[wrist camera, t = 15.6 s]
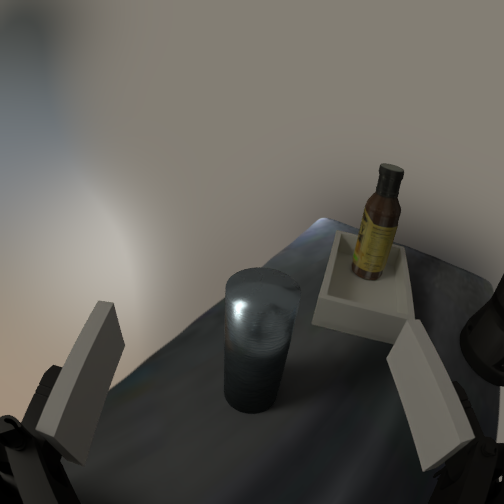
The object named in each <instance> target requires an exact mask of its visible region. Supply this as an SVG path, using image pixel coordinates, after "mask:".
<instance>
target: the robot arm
mask: <svg viewBox="0 0 504 504" xmlns="http://www.w3.org/2000/svg"><path fill="white" fill-rule="evenodd" d="M460 346H461V349H462V352H463V355H464V357H465V359H466V360H467V362H468V363H469V365H470V366H471V367H472V368H473V370H474V371H475V372H476V373H477V374H478V375H480V376H481V377H482V378H483V379H485V380H486V381H488V382H490V383H492V384H495V385H498V386H504V274H503V276H502V278H501V280H500V282H499V284H498V286H497V288H496V290H495V292H494V294H493V296H492V298H491V299H490V300H489V301H488V302H487V303H486V304H485V305H484V306H483V307H482V308H481V309H480V310H478V311H477V312H476V313H475V314H474V315H473V316H472V317H471V318H470V319H469V320H468V321H467V323H466V325H465V326H464V328H463V330H462V332H461V334H460ZM124 347H125V344H124V340H123V337H122V333H121V330H120V326H119V323H118V318H117V315H116V311H115V307H114V303H111V302H105V301H98V302H97V304H96V306H95V307H94V309H93V311H92V313H91V314H90V316H89V318H88V320H87V322H86V324H85V325H84V327H83V329H82V331H81V333H80V335H79V336H78V338H77V341H76V342H75V344H74V346H73V348H72V350H71V352H70V354H69V356H68V358H67V360H66V362H65V364H64V366H63V367H59V366H56V365H53V366H51V367H50V368H49V369H48V370H47V371H46V372H45V373H44V375H43V377H42V379H41V381H40V383H39V386H38V387H37V389H36V393H35V394H34V395H33V398H32V400H31V402H30V404H29V406H28V409H27V411H26V413H25V416H24V418H23V420H22V422H21V423H20V422H19V421H18V420H17V419H16V418H15V417H13V416H10V415H5V416H2V417H0V504H81V503H80V501H79V499H78V497H77V495H76V493H75V491H74V489H73V487H72V485H71V483H70V481H69V479H68V477H67V474H66V472H65V470H64V468H63V465H62V464H61V462H60V460H61V456H63V457H64V458H65V459H66V460H67V461H70V462H73V463H75V464H78V465H81V466H84V467H85V463H86V459H87V456H88V453H89V449H90V446H91V442H92V439H93V436H94V433H95V429H96V426H97V423H98V420H99V417H100V414H101V411H102V408H103V405H104V402H105V399H106V396H107V393H108V390H109V387H110V385H111V381H112V379H113V376H114V373H115V371H116V368H117V365H118V363H119V360H120V357H121V355H122V352H123V350H124ZM386 359H387V362H388V364H389V367H390V370H391V373H392V375H393V378H394V381H395V384H396V387H397V389H398V392H399V395H400V398H401V401H402V404H403V407H404V410H405V413H406V416H407V419H408V422H409V426H410V429H411V432H412V435H413V439H414V442H415V445H416V449H417V452H418V456H419V459H420V463H421V467H422V470H423V472H424V471H427V470H430V469H434V468H437V467H438V466H440V465H441V464H442V463H444V462H445V464H446V466H445V467H444V468H442V469H441V470H439V471H438V472H437V473H435V475H434V476H433V478H435V477H437V476H438V475H440V474H441V475H440V477H439V478H438V482H437V485H436V487H435V489H434V491H433V494H432V496H431V498H430V500H429V502H428V504H504V443H496V442H495V441H494V440H493V439H492V438H490V437H485V436H484V434H483V432H482V430H481V427H480V425H479V422H478V420H477V418H476V415H475V413H474V411H473V408H471V404H470V401H468V397H467V395H466V393H465V391H464V389H463V388H462V387H461V385H460V384H459V383H458V382H457V381H454V382H451V380H450V378H449V376H448V373H447V371H446V369H445V367H444V365H443V363H442V361H441V359H440V357H439V355H438V353H437V351H436V349H435V347H434V345H433V343H432V342H431V340H430V338H429V336H428V334H427V332H426V330H425V328H424V327H423V325H422V323H421V321H420V320H407V321H406V323H405V325H404V327H403V329H402V331H401V333H400V334H399V336H398V338H397V340H396V342H395V344H394V346H393V348H392V349H391V351H390V353H389V355H388V357H387V358H386ZM500 476H502V481H501V482H499V477H500Z"/></svg>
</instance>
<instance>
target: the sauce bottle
mask: <svg viewBox="0 0 504 504" xmlns="http://www.w3.org/2000/svg"><path fill="white" fill-rule="evenodd" d="M379 174H380V175H379V179H378V184H377V187H376V192H375V193H374V194H373V195H372V196H371V197H370V198H369V199H368V201H367V203H366V205H365V209H364V213H363V218H362V222H361V225H360V230H359V234H358V238H357V242H356V246H355V250H354V254H353V261H352V271H353V272H354V273H355V274H356V275H357V276H359V277H360V278H362V279H365V280H377V279H378V278H380V277H381V275H382V273H383V270H384V268H385V265H386V263H387V259H388V256H389V253H390V250H391V247H392V243H393V240H394V237H395V233H396V230H397V226H398V220H399V216H400V213H401V207H400V205H399V201H398V198H397V197H398V194H399V188H400V184H401V180H402V179H403V175H404V170H403V169H402V168H400V167H398V166H395V165H391V164H381V165H380V168H379Z"/></svg>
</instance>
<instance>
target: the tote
mask: <svg viewBox="0 0 504 504" xmlns="http://www.w3.org/2000/svg"><path fill="white" fill-rule="evenodd" d="M357 238H358V235H355V234H351V233H347V232H342V231H338V230H337V231H336V235H335V239H334V243H333V247H332V250H331V254H330V258H329V262H328V265H327V269H326V273H325V276H324V280H323V283H322V287H321V290H320V294H319V297H318V301H317V305H316V308H315V312H314V316H313V320H312V323H311V324H313V325H317V326H320V327H324V328H328V329H332V330H336V331H340V332H344V333H348V334H352V335H356V336H360V337H364V338H368V339H372V340H377V341H381V342H385V343H390V344H395V342H396V340H397V338H398V336H399V334H400V333H401V331H402V329H403V327H404V325H405V323H406V321H407V320H415V315H414V306H413V298H412V291H411V284H410V278H409V271H408V265H407V260H406V254H405V249H404V247H402V246H398V245H394V244H392V247H391V250H390V253H389V256H388V259H387V263H386V265H385V268H384V270H383V273H382V275H381V277H380V278H378V279H377V280H365V279H362V278H360V277H359V276H357V275H356V274H355V273H354V272H353V271H352V261H353V254H354V250H355V246H356V242H357Z"/></svg>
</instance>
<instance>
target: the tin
mask: <svg viewBox="0 0 504 504" xmlns="http://www.w3.org/2000/svg"><path fill="white" fill-rule="evenodd" d="M225 294H226V295H225V343H224V395H225V398H226V400H227V402H228V403H229V405H230V406H231V407H233V408H234V409H236V410H238V411H240V412H243V413H248V414H256V413H260V412H263V411H265V410H267V409H269V408H270V407H271V406H272V405H273V404H274V402H275V400H276V398H277V394H278V390H279V386H280V382H281V378H282V375H283V371H284V367H285V363H286V359H287V354H288V350H289V346H290V342H291V338H292V333H293V329H294V325H295V320H296V316H297V311H298V307H299V302H300V298H301V289H300V287H299V285H298V283H297V282H296V281H295V280H294V279H293V278H292V277H290V276H289V275H287V274H285V273H283V272H281V271H278V270H274V269H270V268H249V269H244V270H241V271H239V272H237V273H235V274H234V275H232V276H231V277H230V278H229V280H228V281H227V284H226V293H225Z"/></svg>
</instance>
